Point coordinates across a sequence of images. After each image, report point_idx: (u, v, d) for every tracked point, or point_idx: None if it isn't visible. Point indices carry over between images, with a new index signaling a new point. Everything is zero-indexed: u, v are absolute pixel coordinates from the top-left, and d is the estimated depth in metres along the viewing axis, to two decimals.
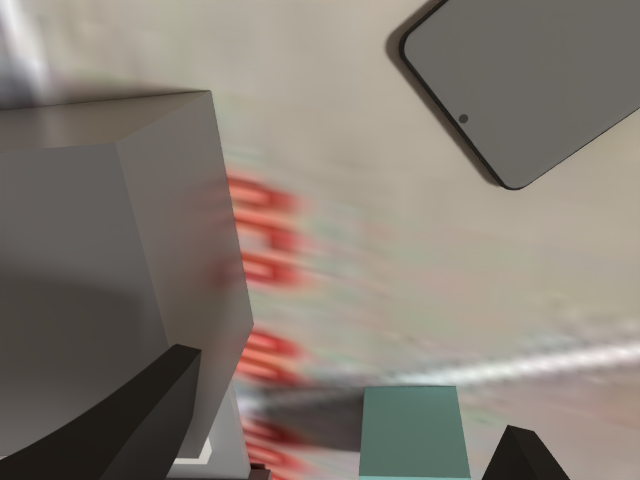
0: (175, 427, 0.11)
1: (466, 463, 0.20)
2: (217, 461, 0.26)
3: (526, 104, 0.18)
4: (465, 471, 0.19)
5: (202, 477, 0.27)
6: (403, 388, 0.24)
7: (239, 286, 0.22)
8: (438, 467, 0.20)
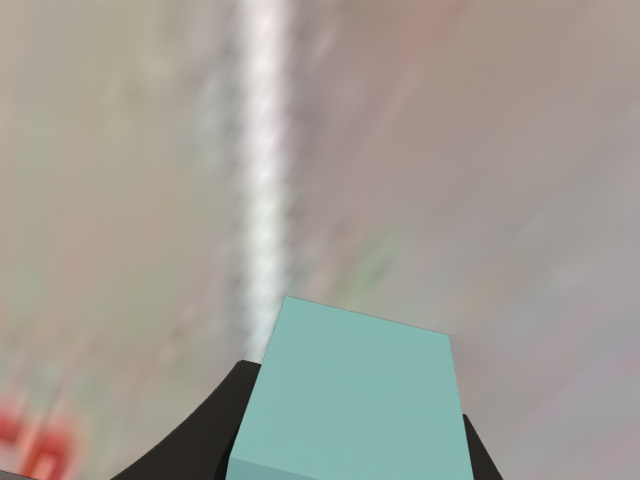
0: None
1: (240, 428, 0.09)
2: None
3: None
4: (233, 448, 0.09)
5: None
6: None
7: None
8: None
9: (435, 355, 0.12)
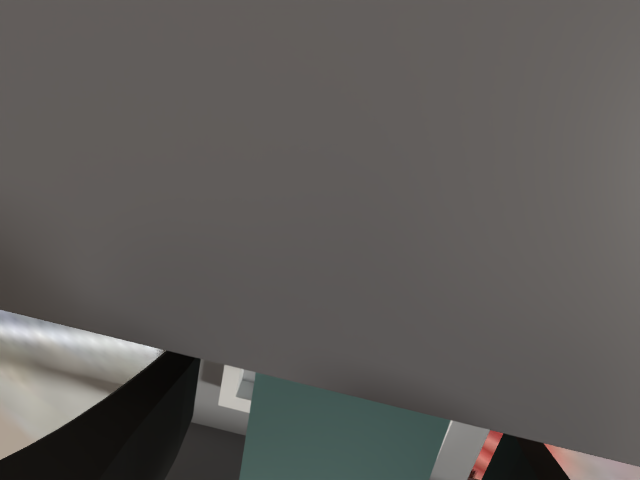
0: (175, 427, 0.11)
1: None
2: None
3: None
4: None
5: None
6: None
7: None
8: None
9: None
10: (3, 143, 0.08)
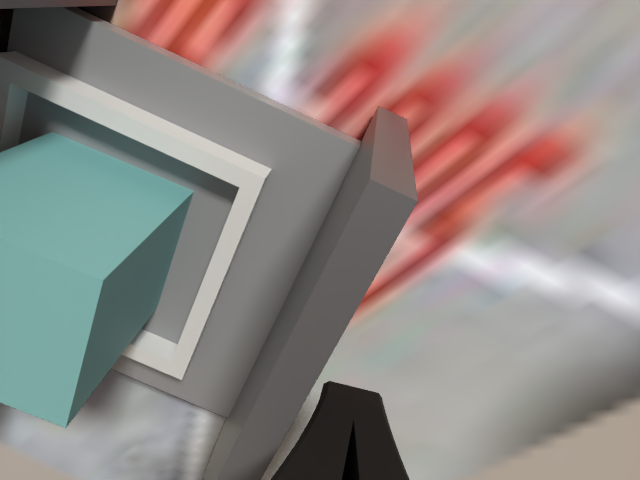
0: None
1: None
2: (297, 174, 0.14)
3: None
4: None
5: (322, 224, 0.14)
6: None
7: None
8: None
9: None
10: None
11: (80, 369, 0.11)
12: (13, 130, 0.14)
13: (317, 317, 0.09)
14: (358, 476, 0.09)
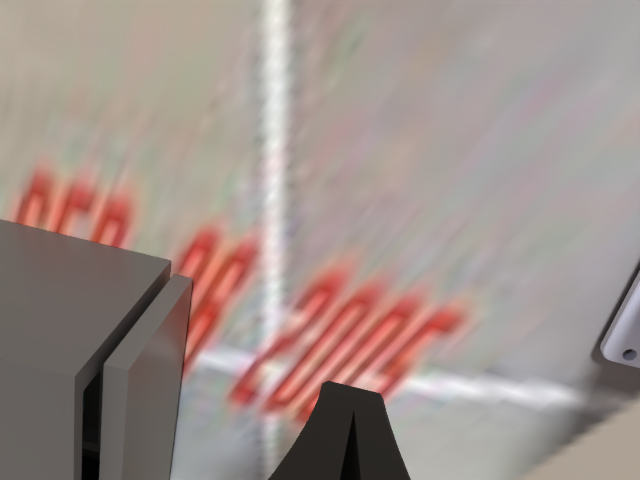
0: None
1: None
2: None
3: None
4: None
5: None
6: None
7: (105, 256, 0.21)
8: None
9: None
10: None
11: None
12: None
13: (109, 427, 0.18)
14: (359, 476, 0.09)
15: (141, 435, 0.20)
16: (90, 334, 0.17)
